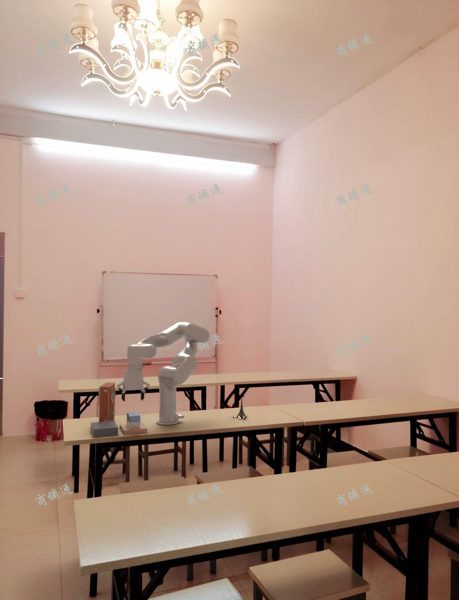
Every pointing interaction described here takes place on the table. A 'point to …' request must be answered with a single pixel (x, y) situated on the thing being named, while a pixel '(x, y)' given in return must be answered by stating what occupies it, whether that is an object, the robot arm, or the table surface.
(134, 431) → the terracotta stand
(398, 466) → the table surface
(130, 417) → the housing
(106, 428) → the charcoal stand
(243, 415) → the eiffel tower figurine
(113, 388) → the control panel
